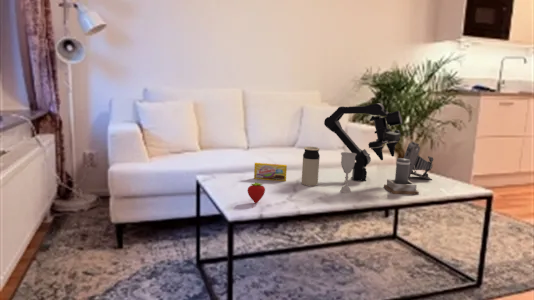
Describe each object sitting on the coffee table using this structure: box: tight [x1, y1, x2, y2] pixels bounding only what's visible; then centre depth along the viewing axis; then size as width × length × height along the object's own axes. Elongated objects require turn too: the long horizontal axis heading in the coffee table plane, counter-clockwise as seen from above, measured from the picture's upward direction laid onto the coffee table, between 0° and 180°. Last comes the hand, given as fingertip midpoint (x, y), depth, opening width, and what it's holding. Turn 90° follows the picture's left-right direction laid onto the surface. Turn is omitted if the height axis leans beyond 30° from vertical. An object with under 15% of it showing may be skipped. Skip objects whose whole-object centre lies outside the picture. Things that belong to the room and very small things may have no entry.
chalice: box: [339, 151, 357, 194], centre depth 199 cm, size 7×7×18 cm
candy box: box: [253, 162, 288, 182], centre depth 216 cm, size 16×2×8 cm, turn 83°
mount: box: [383, 178, 420, 195], centre depth 206 cm, size 12×12×4 cm
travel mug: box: [301, 146, 320, 187], centre depth 209 cm, size 8×8×18 cm
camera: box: [403, 140, 434, 181], centre depth 234 cm, size 11×17×20 cm, turn 86°
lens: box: [394, 157, 410, 184], centre depth 205 cm, size 6×6×14 cm
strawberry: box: [247, 179, 266, 204], centre depth 176 cm, size 6×8×10 cm
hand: (387, 158), depth 217 cm, fingers open, 9 cm apart
